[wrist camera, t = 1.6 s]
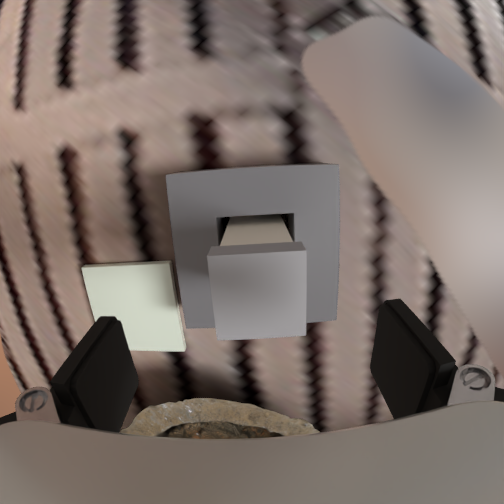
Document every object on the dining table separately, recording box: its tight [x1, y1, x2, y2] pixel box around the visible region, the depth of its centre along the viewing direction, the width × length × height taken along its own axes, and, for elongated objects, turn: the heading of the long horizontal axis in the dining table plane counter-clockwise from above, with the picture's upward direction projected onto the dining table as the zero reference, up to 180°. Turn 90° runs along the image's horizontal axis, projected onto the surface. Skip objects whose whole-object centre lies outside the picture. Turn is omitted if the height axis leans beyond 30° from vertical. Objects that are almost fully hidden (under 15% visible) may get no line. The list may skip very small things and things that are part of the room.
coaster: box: [82, 260, 186, 351], centre depth 28 cm, size 9×9×1 cm
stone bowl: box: [120, 398, 320, 439], centre depth 30 cm, size 25×25×9 cm
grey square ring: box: [166, 163, 340, 328], centre depth 24 cm, size 12×12×4 cm
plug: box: [207, 214, 307, 340], centre depth 21 cm, size 5×5×12 cm
